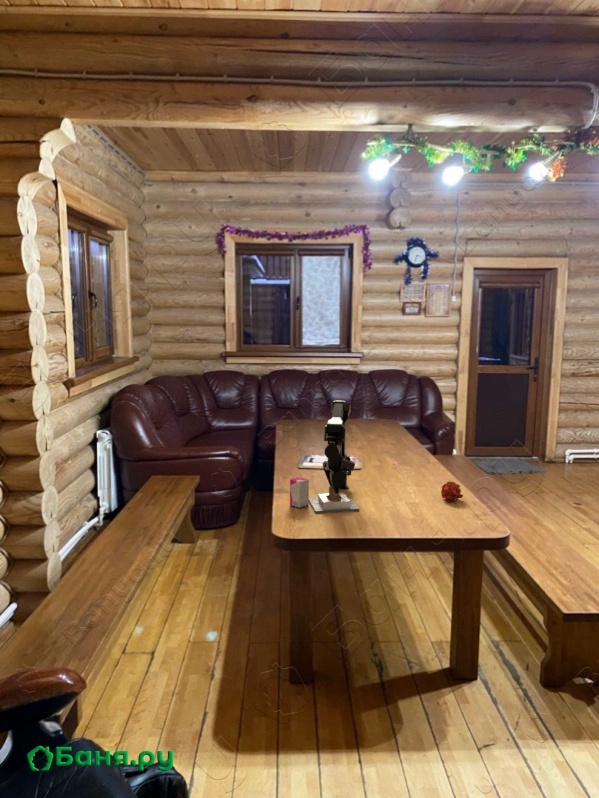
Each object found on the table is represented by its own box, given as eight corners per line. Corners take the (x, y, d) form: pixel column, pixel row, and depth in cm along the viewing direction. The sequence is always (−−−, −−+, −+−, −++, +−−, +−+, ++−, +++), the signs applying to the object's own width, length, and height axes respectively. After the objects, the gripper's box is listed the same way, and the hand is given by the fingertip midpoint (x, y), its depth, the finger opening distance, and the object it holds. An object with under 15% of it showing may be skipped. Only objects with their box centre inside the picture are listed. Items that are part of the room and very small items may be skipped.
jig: (308, 500, 239) (308, 491, 238) (349, 498, 242) (349, 489, 241) (315, 513, 223) (315, 503, 223) (359, 510, 226) (359, 501, 226)
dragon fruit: (449, 498, 247) (454, 511, 235) (434, 487, 246) (438, 500, 235) (462, 484, 244) (467, 497, 233) (447, 473, 244) (452, 485, 232)
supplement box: (309, 505, 232) (309, 479, 231) (298, 509, 228) (299, 482, 227) (299, 502, 237) (299, 476, 235) (289, 505, 232) (289, 479, 231)
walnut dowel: (327, 502, 233) (327, 486, 232) (337, 502, 234) (338, 486, 233) (330, 506, 229) (330, 489, 228) (340, 505, 230) (340, 489, 228)
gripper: (359, 458, 220) (359, 496, 222) (348, 447, 238) (347, 482, 241) (332, 459, 218) (331, 497, 220) (322, 448, 236) (322, 483, 239)
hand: (334, 490), depth 230 cm, fingers open, 9 cm apart
